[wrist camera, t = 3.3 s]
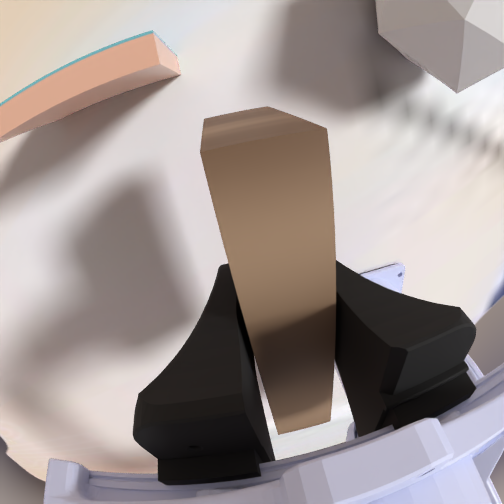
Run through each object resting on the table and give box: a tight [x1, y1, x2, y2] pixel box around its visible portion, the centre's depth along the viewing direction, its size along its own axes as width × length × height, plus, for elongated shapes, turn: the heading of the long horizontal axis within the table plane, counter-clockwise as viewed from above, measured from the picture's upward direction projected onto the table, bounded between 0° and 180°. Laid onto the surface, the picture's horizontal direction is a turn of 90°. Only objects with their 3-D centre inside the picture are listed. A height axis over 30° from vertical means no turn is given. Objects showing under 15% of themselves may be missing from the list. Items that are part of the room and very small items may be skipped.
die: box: [375, 0, 504, 93], centre depth 10 cm, size 8×9×10 cm
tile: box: [0, 30, 181, 143], centre depth 10 cm, size 1×8×8 cm, turn 101°
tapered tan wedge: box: [200, 106, 336, 435], centre depth 11 cm, size 12×2×6 cm, turn 10°
